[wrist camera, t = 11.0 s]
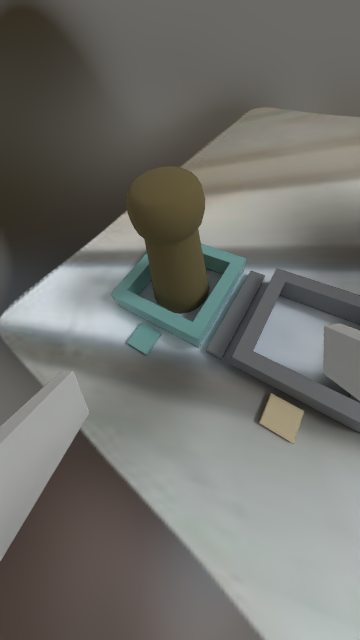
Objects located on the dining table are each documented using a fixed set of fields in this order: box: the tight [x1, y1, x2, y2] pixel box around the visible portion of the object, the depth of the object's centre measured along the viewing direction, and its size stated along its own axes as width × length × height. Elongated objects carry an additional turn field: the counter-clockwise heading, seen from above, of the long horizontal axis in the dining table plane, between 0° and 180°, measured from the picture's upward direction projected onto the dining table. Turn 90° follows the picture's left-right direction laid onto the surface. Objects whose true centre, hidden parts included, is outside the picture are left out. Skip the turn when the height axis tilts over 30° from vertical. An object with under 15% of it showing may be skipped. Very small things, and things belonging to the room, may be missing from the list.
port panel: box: [110, 244, 360, 444], centre depth 18 cm, size 13×23×2 cm, turn 58°
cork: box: [127, 166, 209, 313], centre depth 16 cm, size 6×6×11 cm
